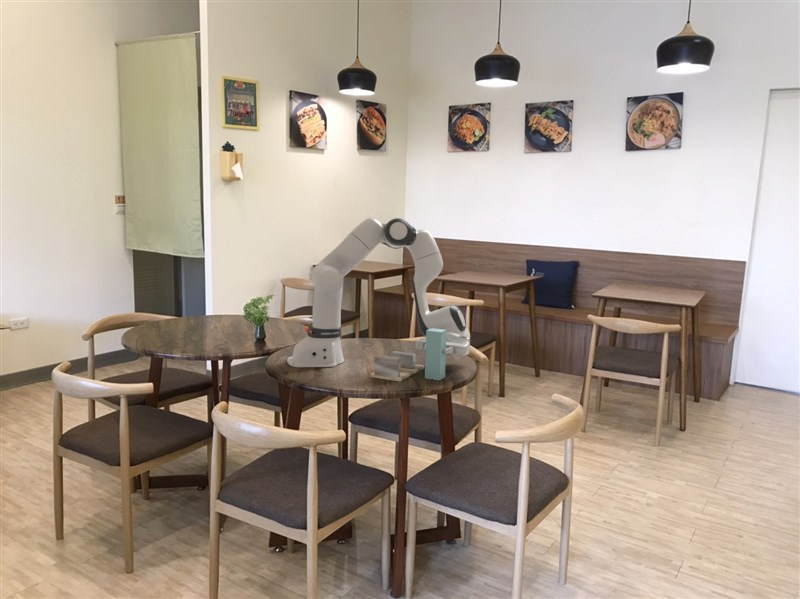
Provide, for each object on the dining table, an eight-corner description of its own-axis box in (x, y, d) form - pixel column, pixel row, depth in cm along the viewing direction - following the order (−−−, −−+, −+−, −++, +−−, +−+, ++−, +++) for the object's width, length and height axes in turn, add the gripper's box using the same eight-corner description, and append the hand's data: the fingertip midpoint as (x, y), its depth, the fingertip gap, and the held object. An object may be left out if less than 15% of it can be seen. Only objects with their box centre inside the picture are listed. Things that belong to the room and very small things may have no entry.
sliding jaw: (394, 363, 250) (394, 350, 249) (415, 366, 246) (416, 353, 245) (391, 365, 247) (391, 352, 246) (412, 368, 243) (412, 355, 243)
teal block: (429, 375, 240) (431, 328, 237) (444, 377, 238) (446, 329, 235) (424, 378, 236) (426, 330, 233) (439, 380, 233) (441, 332, 230)
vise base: (396, 363, 255) (397, 344, 254) (424, 367, 250) (424, 347, 249) (370, 376, 236) (371, 355, 234) (400, 381, 231) (400, 360, 229)
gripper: (423, 332, 250) (409, 338, 238) (473, 338, 242) (461, 345, 229) (423, 348, 251) (408, 355, 239) (472, 354, 243) (460, 362, 230)
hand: (434, 350), depth 234 cm, fingers closed on teal block, 6 cm apart
